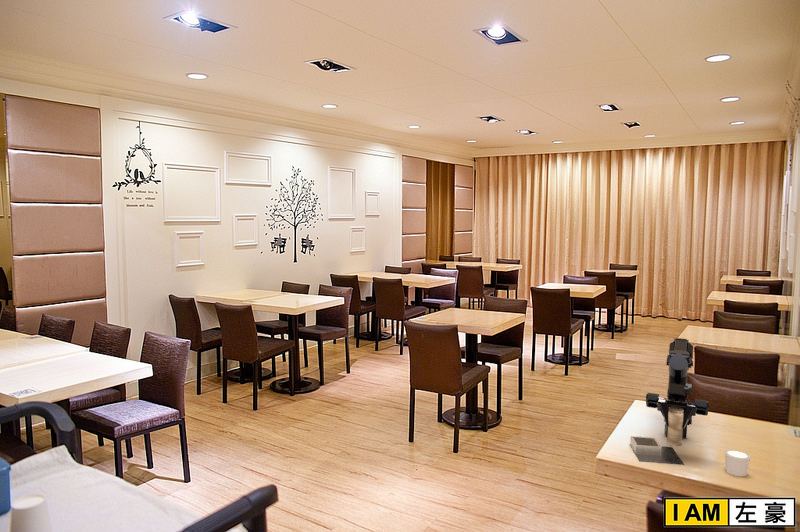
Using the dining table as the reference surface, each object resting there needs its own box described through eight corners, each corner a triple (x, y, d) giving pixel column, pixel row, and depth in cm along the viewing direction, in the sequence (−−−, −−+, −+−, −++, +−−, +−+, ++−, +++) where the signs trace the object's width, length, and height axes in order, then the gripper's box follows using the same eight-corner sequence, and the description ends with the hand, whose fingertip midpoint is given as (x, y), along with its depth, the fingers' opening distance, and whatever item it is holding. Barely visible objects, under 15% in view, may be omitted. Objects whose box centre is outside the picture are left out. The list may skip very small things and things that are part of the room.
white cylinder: (748, 482, 172) (750, 460, 171) (723, 476, 176) (724, 455, 175) (748, 473, 178) (750, 452, 177) (724, 468, 182) (725, 447, 181)
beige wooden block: (679, 441, 186) (681, 406, 185) (683, 446, 182) (685, 411, 181) (665, 440, 187) (667, 405, 186) (669, 445, 183) (670, 410, 182)
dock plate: (672, 449, 196) (672, 438, 195) (684, 467, 182) (685, 456, 182) (629, 446, 198) (630, 436, 198) (638, 464, 185) (639, 452, 184)
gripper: (647, 369, 190) (643, 411, 182) (709, 377, 182) (709, 421, 173) (648, 385, 198) (644, 426, 189) (708, 393, 189) (707, 436, 181)
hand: (675, 427), depth 183 cm, fingers closed on beige wooden block, 4 cm apart
